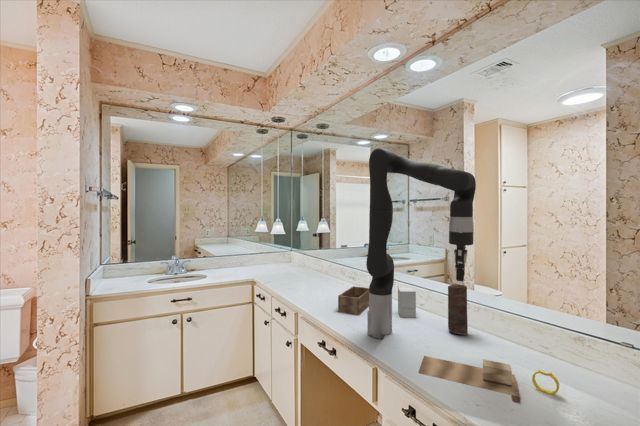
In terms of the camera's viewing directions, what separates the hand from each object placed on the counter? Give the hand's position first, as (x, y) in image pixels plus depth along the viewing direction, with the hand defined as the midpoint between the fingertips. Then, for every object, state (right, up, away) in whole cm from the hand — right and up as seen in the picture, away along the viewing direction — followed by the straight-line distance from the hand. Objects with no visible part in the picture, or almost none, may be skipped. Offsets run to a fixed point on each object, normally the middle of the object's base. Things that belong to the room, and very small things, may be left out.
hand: (460, 278), depth 102 cm
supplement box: (-6, -28, +44) cm, 52 cm away
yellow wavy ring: (+16, -28, -18) cm, 37 cm away
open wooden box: (-29, -27, +56) cm, 68 cm away
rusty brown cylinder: (+9, -28, +23) cm, 37 cm away
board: (-3, -28, -11) cm, 30 cm away
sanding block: (+4, -27, -15) cm, 31 cm away
